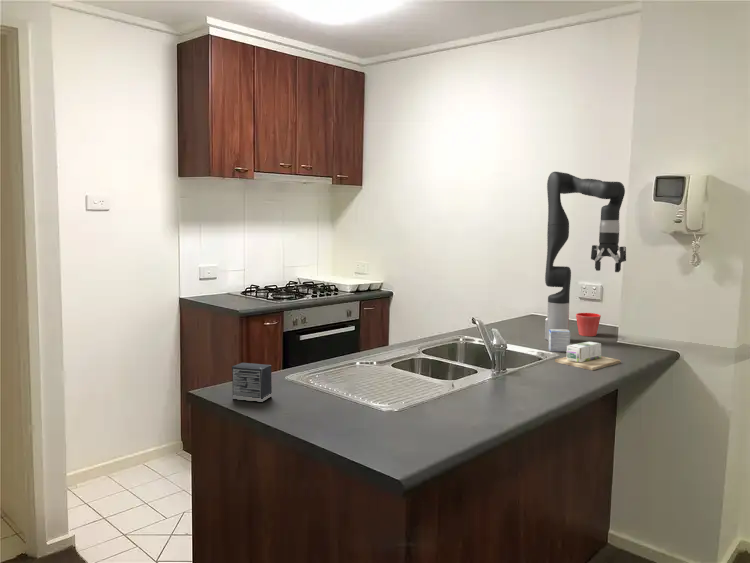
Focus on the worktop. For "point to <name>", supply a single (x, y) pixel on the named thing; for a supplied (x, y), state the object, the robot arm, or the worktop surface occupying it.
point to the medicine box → (559, 340)
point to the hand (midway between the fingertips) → (607, 271)
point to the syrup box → (583, 351)
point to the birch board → (590, 363)
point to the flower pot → (588, 323)
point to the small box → (251, 380)
